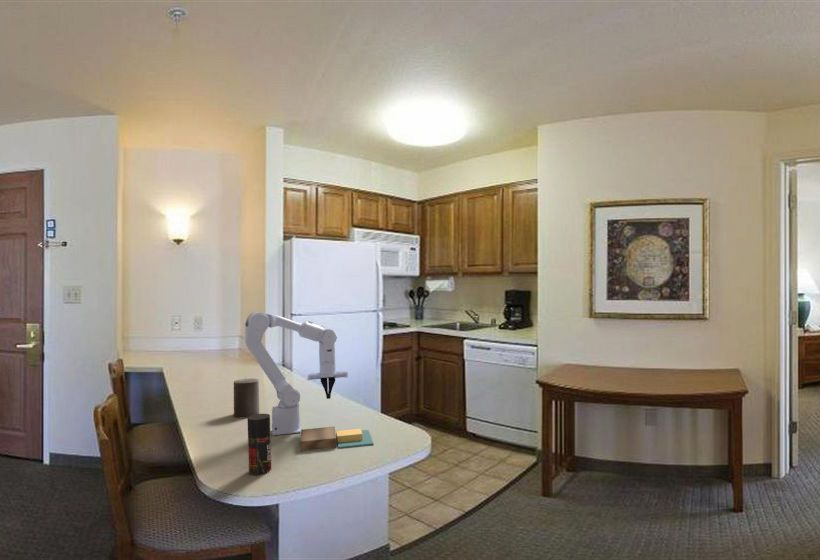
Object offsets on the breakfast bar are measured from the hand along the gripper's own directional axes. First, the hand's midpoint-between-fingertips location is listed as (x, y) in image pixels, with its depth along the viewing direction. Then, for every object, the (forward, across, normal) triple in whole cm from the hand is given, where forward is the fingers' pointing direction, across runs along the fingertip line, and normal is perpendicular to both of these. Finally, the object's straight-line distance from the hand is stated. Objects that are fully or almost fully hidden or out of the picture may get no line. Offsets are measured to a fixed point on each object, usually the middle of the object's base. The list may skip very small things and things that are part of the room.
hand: (328, 398), depth 168 cm
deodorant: (+10, -20, -38) cm, 44 cm away
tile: (+9, +6, -20) cm, 23 cm away
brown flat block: (+9, -4, -20) cm, 22 cm away
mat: (+9, +8, -20) cm, 23 cm away
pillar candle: (+10, -32, +23) cm, 41 cm away
